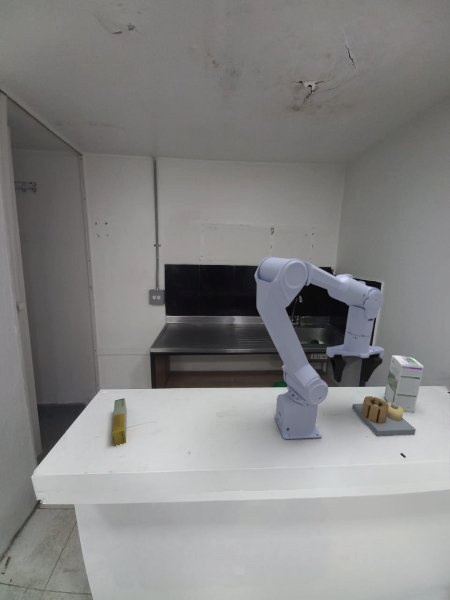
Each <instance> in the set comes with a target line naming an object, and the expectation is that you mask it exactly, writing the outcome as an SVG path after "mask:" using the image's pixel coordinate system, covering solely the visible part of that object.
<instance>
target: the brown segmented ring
mask: <svg viewBox="0 0 450 600" xmlns="http://www.w3.org/2000/svg"><path fill="white" fill-rule="evenodd" d="M362 404H363V407H362V415H363V416H364V417H365V418H366V419H368V420H369V421H372V422H374V423H376V422H377V423H378V424H381V423H384V422H386V417H387V413H388V408H389V406H388V404H387V401H386V400H382V398H379V397H376V396H374V397H373V396H372V395H371V396H370V395H369V396H367V395H366V396H365V397H364V399H363V403H362ZM373 404H375V405H377V406H375V405H373Z"/></svg>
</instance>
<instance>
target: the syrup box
mask: <svg viewBox="0 0 450 600" xmlns="http://www.w3.org/2000/svg"><path fill="white" fill-rule="evenodd" d="M424 369H425V366H424V365H423V364H422V363H420V362H419V360H416V359H415V358H414V357H411V356H406V355H393V354H392V355H391V360H390V365H389V370H388V375H387V380H386V385H385V390H384V395H383V396H384V397H383V398H384V399H385V402H386V403H387V402H395V403H397V404H399V406H401V407H402V408H403V410H404V412H409V413H414V412H415V409H416V403H417V399H418V395H419V391H420V386H421V382H422V378H423V373H424Z"/></svg>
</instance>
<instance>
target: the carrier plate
mask: <svg viewBox="0 0 450 600" xmlns="http://www.w3.org/2000/svg"><path fill="white" fill-rule="evenodd" d="M386 403H387V404H388V406H389V408H388V413H387V417H386V422H384V423H381V424H378V423H377V422H376V423H374V422H372V421H369V420H368V419H366V418H365V417H364V416H363V415H362V407H363V403H352V407H351V409H352V410H353V411H354V412H355V413H356V415H357V416H358V417H359V418H360V419H361V420H362V421H363V422H364V424H365V425H366V426H367V427H368V428H369V429H370V430H371V431H372V432H373V434H374V435H375V436H376V437H382V436H383V437H386V436H388V437H389V436H413V435H415V434H416V431H417V429H416V428H415V427H413V426H412V425H411V423H409V422H408V421H407V420H406V418H404V417H403V414H404V412H405V411H404V410H403V408H402V407H401V406H399V404H397V403H395V402H387V401H386ZM373 405H375V404H373ZM375 406H377V405H375Z"/></svg>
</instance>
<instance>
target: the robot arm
mask: <svg viewBox="0 0 450 600" xmlns="http://www.w3.org/2000/svg"><path fill="white" fill-rule="evenodd" d="M254 273H255V274H254V279H255V280H254V281H255V282H256V309H257V312H258V314H259V316H260V318H261V320H262V322H263V324H264V326H265V328H266V331H267V332H268V335H269V337H270V338H271V340H272V342H273V344H274V346H275V349H276V350H277V352H278V355H279V357H280V359H281V361H282V363H283V365H282V366H281V368H282V371H283V381H284V383H286V384H287V387H286V390H287V392H284V393H280V394H278V395H277V397H276V406H275V407H276V408H275V414H274V419H275V421H276V423H277V426H278V428H279V430H280V433H281V435H282V438H283V439H284V440H293V439H294V440H297V439H317V438H319V439H321V438H322V436H323V435H322V434H321V432H320V430H319V429H318V427H317V426H316V421H317V415H318V408H319V405H320V404H321V403H323V402H325V400H326V398H327V396H328V393H329V386H328V384H327V382H326V381H325V380H323V379H322V378H321V376H320V375H319V373H317V372H318V371H316V370H315V369H314V367H313V366H312V365H311V364H310V363H309V361H308V358H307V356H306V353H305V351H304V349H303V347H302V344H301V342H300V340H299V337H298V335H297V333H296V331H295V328H294V326H293V323H292V321H291V319H290V317H289V315H288V312H287V310H286V309H287V307H289V306H290V305H291V303H292V302H293V301H294V299H295V297H297V295H298V294H299V293H300V292H301V290H302V289H303V287H304V286H309V285H310V284H312V285H315V286H316V287H317V286H318V287H320V288H323V289H326V290H327V293H328V296H329V297H331V298H332V299H335V300H338V301H339V302H342V303H345V304H346V305H347V306H349V308H348V312H347V313H348V314H347V319H346V327H345V328H346V329H345V333H344V341H343V344H340V345H334V346H327V347H326V352H325V354H326V355H327V357H328V358H329V361H330V364H331V368H332V372H333V373H332V374H333V379H334V381H335V382H337V383H339V384H340V383H341V382H342V378H343V372H344V370H345V367H346V365H347V363H348V362H347V361H346V360H344V357H347V356H348V357H350V356H351V357H360V358H361V369H360V379H362V380H363V381H364V382H368V381H369V380H370V378H371V376H372V375H373V373H374V372H375V370H376V369H377V368H378V367H379V366H381V364H383V358H381V357H384V356H385V355H384V354H385V349H384V348H383V347H381V346H377V345H375V346H374V345H370V344H371V339H372V335H373V333H372V332H373V328H374V321H375V319H376V318H377V316H378V315H379V310H380V309H381V307H382V306H383V304H384V301H385V299H384V295H383V293H382V291H381V290H380V289H379V288H378V287H374V286H369V285H366V282H365V281H362V280H356V279H355V278H353V277H354V275H352V274H349V273H344V274H338V275H336V276H335V275H333V274H331V273H330V272H328V271H326V270H324V269H322V268H320V267H318V266H316V265H314V264H312V263H311V262H308V261H303V260H301V259H299V258H282V257H277V256H273V255H272V256H271V255H270V256H266V257H264V258H263V259H262V260H261V261H260V262H259V264H258V266H257V268H256V271H255V272H254Z"/></svg>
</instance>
